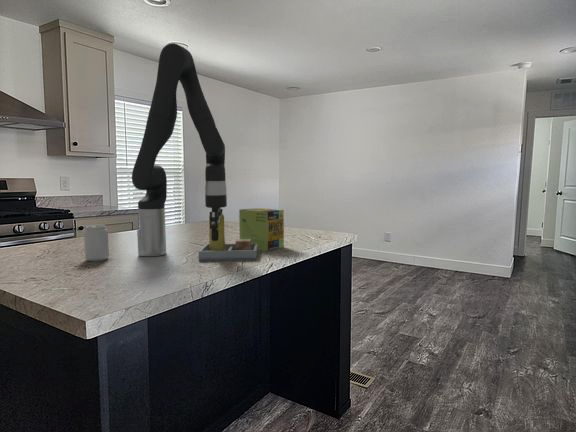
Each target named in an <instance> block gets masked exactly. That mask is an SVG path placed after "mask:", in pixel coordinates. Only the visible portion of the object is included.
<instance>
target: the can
mask: <svg viewBox="0 0 576 432" xmlns="http://www.w3.org/2000/svg"><path fill="white" fill-rule="evenodd" d="M83 239H84V241H83V242H84V255H85V257H84V258H85V259H86V260H87V261H88V262H102V261H106V260H107V259H108V258H109V257H110V247H109V231H108V229H107V228H106V225H105V224H103V225H102V224H100V225H99V224H97V225H87V226H85V229H84V230H83Z"/></svg>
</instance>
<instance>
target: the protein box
mask: <svg viewBox="0 0 576 432" xmlns="http://www.w3.org/2000/svg"><path fill="white" fill-rule="evenodd" d="M284 213H285V211H284V209H277V208H260V207H259V208H243V209H241V208H240V209H239V213H238V217H239V221H238V222H239V227H238V228H239V239H251V243H258V251H263V252H270V251H274V250H279V249H284V248H285V230H284V227H285V225H284V224H285V222H284V219H285V218H284V216H285V215H284Z"/></svg>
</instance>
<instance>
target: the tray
mask: <svg viewBox="0 0 576 432" xmlns="http://www.w3.org/2000/svg"><path fill="white" fill-rule="evenodd" d="M225 250H226V251H209V243H206V244H204V245H203V246H202V247H201V248H200V250H198V251H197V252H198V262H205V261H208V262H209V261H210V262H212V261H214V262H216V261H256V260H257V257H258V253H259V250H258V243H251V250H236V243H225Z"/></svg>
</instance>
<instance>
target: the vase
mask: <svg viewBox="0 0 576 432" xmlns="http://www.w3.org/2000/svg"><path fill="white" fill-rule="evenodd" d="M208 219H209V220H208V224H209V225H208V226H209V228H208V230H209V231H208V232H209V233H208V234H209V236H208V244H209V251H226V250H225V244H226V240H225V239H226V238H225V214H222V215H221V220H220V225H219V227H218V228H219V229H218V241H212V230H211V229H210V214H209V215H208ZM213 226H215V225H213Z"/></svg>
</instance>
